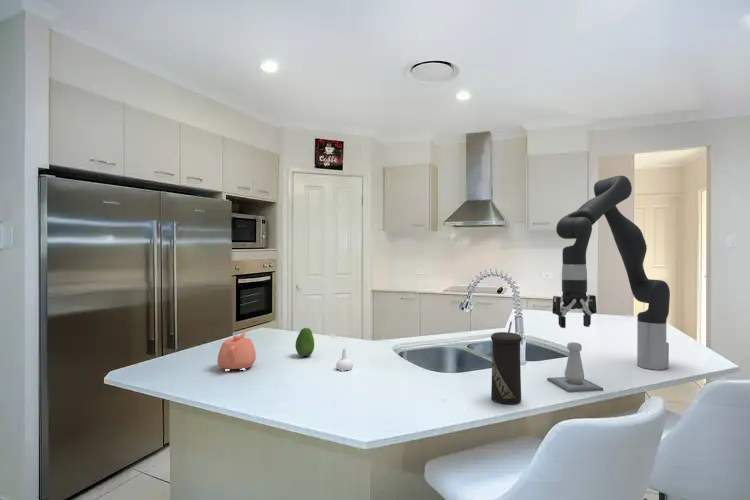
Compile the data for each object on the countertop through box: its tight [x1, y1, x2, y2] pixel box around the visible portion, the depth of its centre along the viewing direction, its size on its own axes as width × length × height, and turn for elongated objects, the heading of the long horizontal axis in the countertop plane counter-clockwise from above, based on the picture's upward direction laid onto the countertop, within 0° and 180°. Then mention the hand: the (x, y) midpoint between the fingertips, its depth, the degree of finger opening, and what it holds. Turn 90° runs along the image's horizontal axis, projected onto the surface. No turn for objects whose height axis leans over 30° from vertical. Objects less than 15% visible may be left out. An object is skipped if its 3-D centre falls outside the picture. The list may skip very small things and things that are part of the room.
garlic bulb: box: [335, 348, 354, 371], centre depth 156 cm, size 6×6×8 cm
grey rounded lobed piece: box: [564, 342, 585, 384], centre depth 137 cm, size 6×6×13 cm
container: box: [490, 331, 523, 405], centre depth 124 cm, size 9×9×20 cm
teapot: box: [216, 331, 257, 370], centre depth 158 cm, size 13×20×12 cm, turn 5°
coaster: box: [546, 376, 604, 393], centre depth 137 cm, size 12×12×1 cm
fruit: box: [294, 327, 315, 357], centre depth 173 cm, size 8×8×12 cm
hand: (574, 327), depth 137 cm, fingers open, 8 cm apart
